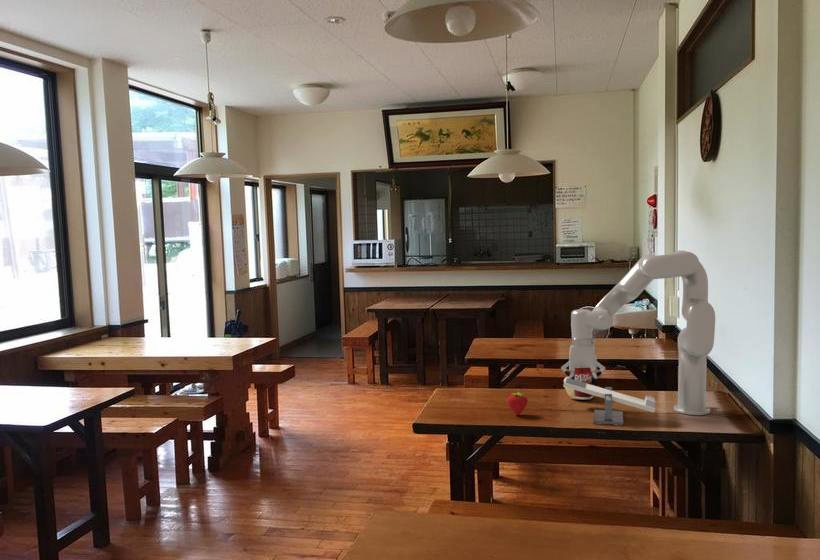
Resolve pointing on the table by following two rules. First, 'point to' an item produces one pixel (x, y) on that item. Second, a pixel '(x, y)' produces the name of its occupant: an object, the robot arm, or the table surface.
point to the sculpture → (572, 393)
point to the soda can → (583, 376)
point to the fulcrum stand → (608, 412)
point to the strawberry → (517, 402)
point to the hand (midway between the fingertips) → (583, 387)
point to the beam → (617, 397)
